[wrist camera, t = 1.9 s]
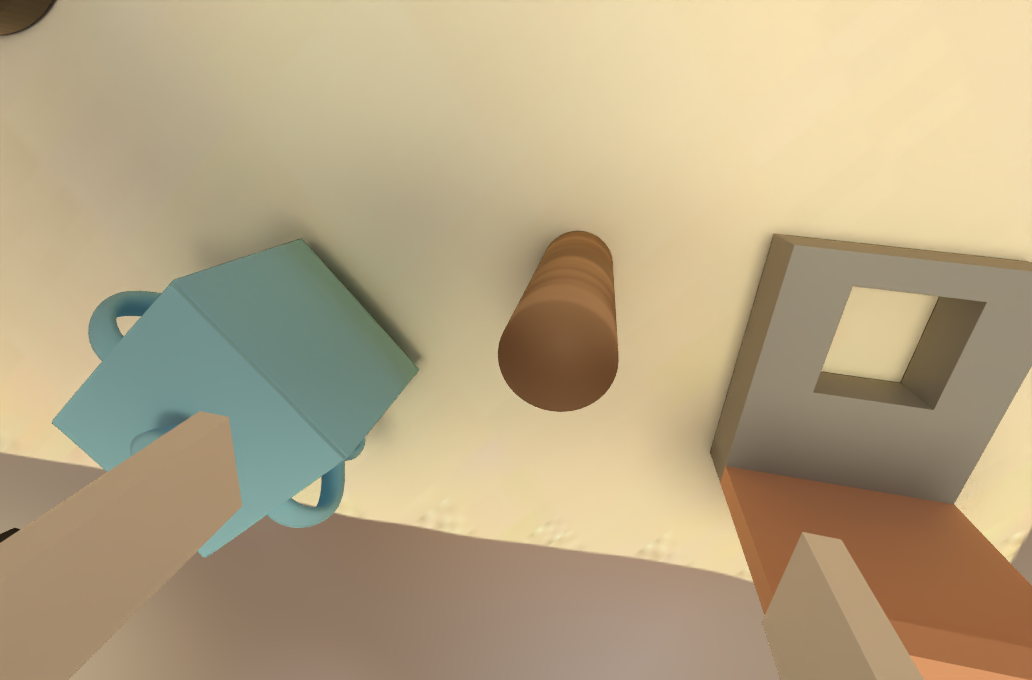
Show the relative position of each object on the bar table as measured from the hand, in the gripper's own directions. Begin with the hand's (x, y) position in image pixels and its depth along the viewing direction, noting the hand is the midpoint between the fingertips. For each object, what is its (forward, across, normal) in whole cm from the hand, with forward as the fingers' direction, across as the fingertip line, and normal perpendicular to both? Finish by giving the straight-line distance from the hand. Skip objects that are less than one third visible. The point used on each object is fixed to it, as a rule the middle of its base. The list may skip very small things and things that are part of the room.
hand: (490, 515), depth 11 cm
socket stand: (+19, +17, -2) cm, 26 cm away
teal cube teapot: (+19, -18, -9) cm, 28 cm away
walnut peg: (+19, +1, +2) cm, 19 cm away
